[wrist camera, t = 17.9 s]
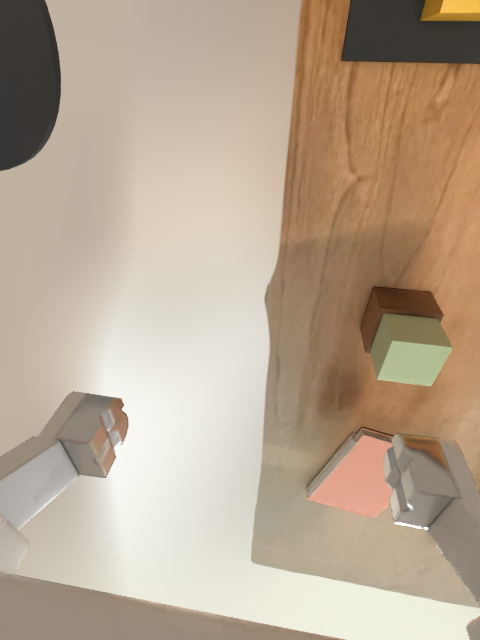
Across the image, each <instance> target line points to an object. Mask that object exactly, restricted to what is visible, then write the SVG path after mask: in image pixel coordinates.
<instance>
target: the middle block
mask: <svg viewBox="0 0 480 640" xmlns="http://www.w3.org/2000/svg"><path fill="white" fill-rule="evenodd" d="M452 348H453V347H452V345H451V343H450V341H449V339H448V338H447V336H446V334H445V332H444V330H443V328H442V326H441V324H440V322H439V320H438V319H436V318H426V317H416V316H407V315H397V314H387V313H384V314H383V316H382V319H381V322H380V325H379V328H378V331H377V333H376V336H375V339H374V342H373V345H372V348H371V355H372V360H373V364H374V369H375V373H376V377H377V380H384V381H392V382H400V383H408V384H416V385H424V386H432V384H433V382H434V380H435V379H436V377H437V375H438V373H439V371H440V370H441V368H442V366H443V364H444V362H445V361H446V359H447V357H448V355H449V353H450V352H451V350H452Z"/></svg>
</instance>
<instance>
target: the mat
mask: <svg viewBox="0 0 480 640" xmlns="http://www.w3.org/2000/svg"><path fill="white" fill-rule="evenodd" d="M424 4H425V0H351V4H350V10H349V16H348V23H347V29H346V35H345V41H344V47H343V54H342V61H376V62H425V63H474V64H480V21H420V20H421V16H422V12H423V8H424Z"/></svg>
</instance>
